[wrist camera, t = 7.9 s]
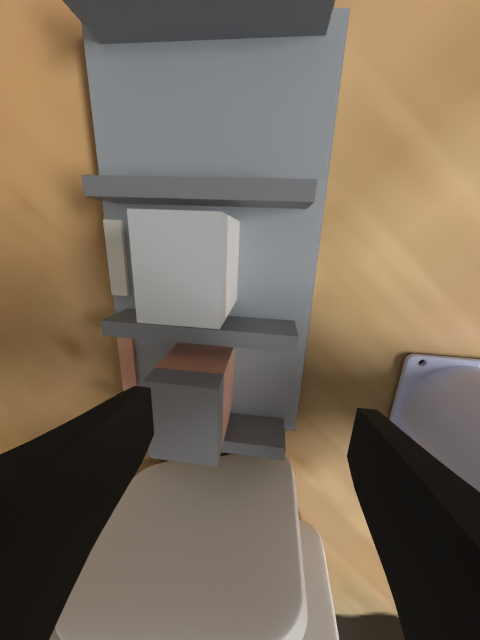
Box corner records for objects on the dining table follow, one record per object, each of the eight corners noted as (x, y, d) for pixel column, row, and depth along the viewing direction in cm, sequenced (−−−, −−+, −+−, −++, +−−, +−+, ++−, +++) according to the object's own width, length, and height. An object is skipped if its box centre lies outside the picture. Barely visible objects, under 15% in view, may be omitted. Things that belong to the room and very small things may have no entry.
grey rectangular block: (239, 221, 16) (221, 211, 10) (236, 299, 17) (219, 329, 12) (177, 219, 16) (126, 208, 11) (180, 296, 18) (136, 322, 12)
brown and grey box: (235, 342, 18) (218, 389, 13) (233, 402, 20) (217, 467, 14) (181, 338, 19) (141, 381, 13) (183, 396, 20) (148, 457, 15)
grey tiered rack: (344, 24, 13) (373, -62, 9) (294, 422, 21) (299, 462, 17) (93, 35, 15) (31, -36, 11) (132, 403, 22) (103, 437, 19)
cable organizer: (299, 438, 22) (326, 647, 11) (320, 528, 24) (361, 767, 13) (141, 458, 24) (33, 639, 13) (177, 536, 27) (112, 739, 16)
